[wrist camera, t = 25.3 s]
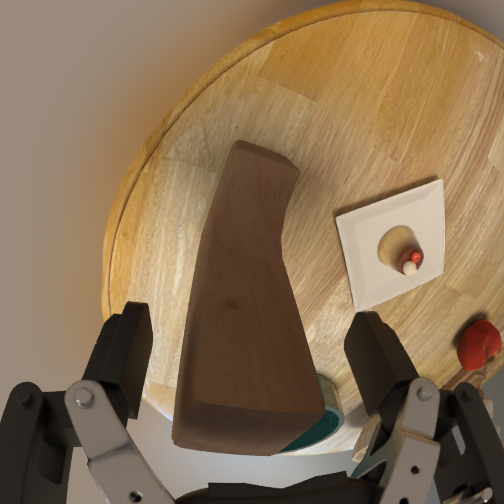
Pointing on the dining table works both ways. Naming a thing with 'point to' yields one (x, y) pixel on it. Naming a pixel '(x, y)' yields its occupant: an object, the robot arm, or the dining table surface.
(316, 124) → the dining table surface
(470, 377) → the candle holder
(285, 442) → the wooden block
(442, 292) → the dining table surface
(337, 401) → the teal bowl
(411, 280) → the dessert
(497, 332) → the tomato
